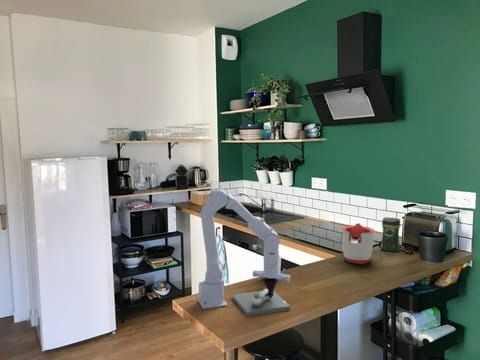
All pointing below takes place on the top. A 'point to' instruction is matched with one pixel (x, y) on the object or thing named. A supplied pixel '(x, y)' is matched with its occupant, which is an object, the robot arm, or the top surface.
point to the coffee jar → (390, 234)
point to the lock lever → (260, 299)
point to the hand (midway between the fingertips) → (271, 296)
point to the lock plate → (266, 307)
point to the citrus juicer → (357, 243)
